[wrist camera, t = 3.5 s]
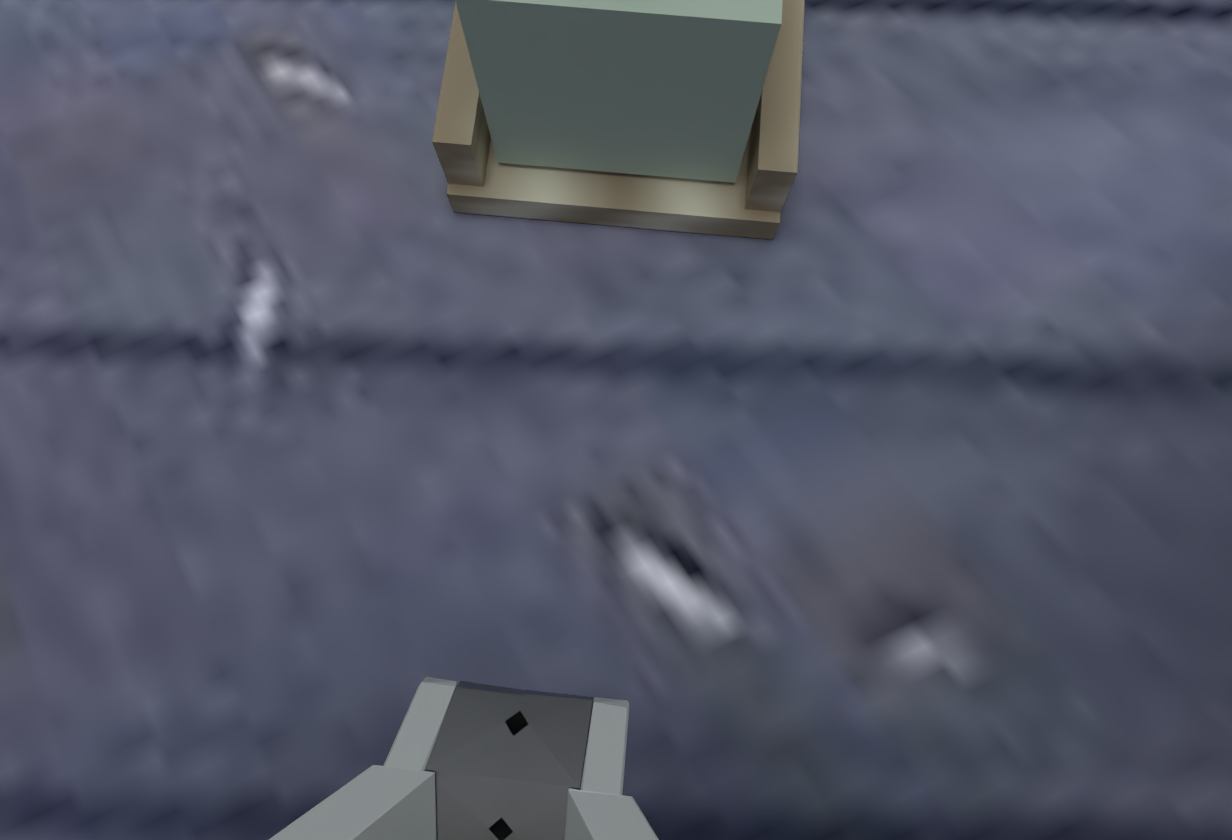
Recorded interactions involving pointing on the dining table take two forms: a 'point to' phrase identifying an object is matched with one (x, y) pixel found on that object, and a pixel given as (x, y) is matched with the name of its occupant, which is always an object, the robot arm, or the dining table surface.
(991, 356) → the dining table surface
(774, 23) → the slider
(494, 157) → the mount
